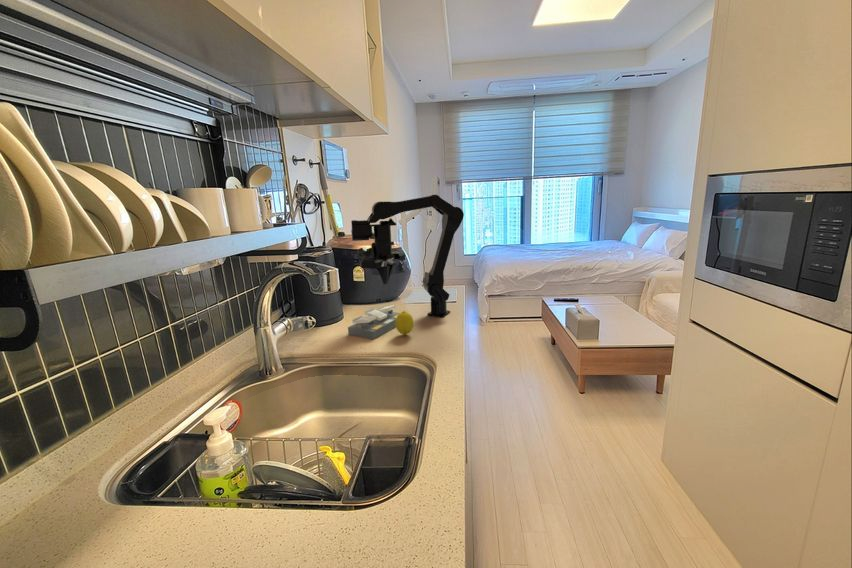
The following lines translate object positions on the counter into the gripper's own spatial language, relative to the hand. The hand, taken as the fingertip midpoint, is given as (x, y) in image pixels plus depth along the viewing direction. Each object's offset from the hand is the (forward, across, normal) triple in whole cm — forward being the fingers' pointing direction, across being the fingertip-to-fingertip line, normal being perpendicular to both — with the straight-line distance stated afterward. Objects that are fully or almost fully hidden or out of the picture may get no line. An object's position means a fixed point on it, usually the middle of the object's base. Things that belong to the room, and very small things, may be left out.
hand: (385, 284), depth 127 cm
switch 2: (+9, +2, +1) cm, 9 cm away
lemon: (+13, +10, +14) cm, 22 cm away
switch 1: (+9, +14, +1) cm, 17 cm away
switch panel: (+13, +8, +2) cm, 15 cm away
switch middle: (+9, +8, +1) cm, 12 cm away
